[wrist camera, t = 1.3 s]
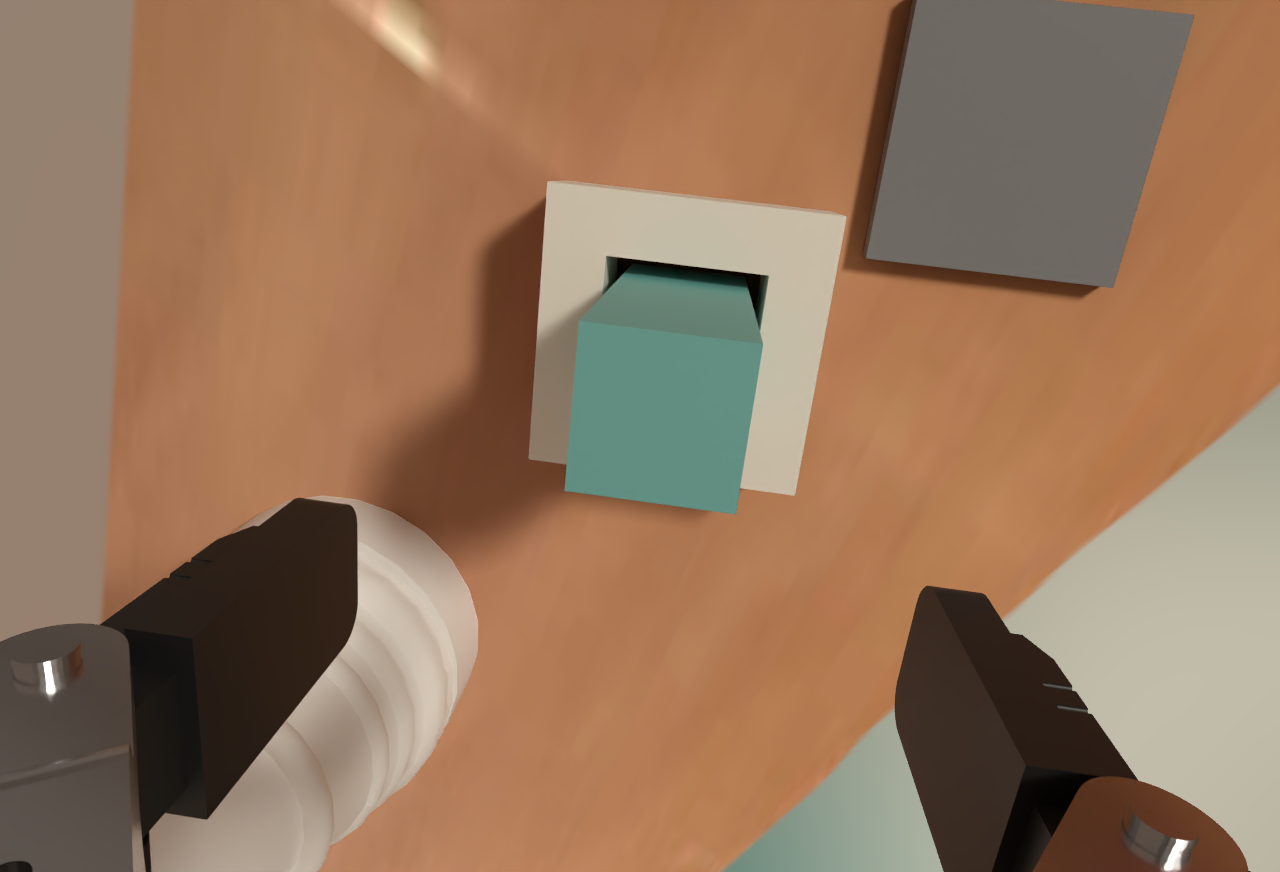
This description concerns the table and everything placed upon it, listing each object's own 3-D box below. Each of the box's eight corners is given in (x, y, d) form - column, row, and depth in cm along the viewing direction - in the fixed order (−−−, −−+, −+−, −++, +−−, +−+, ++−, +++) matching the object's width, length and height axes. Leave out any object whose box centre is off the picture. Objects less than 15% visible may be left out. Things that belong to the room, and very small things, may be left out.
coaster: (914, -9, 27) (919, -14, 27) (1180, 19, 27) (1194, 15, 26) (862, 256, 30) (866, 258, 30) (1103, 285, 30) (1113, 287, 29)
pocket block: (568, 180, 30) (547, 181, 27) (830, 211, 30) (846, 216, 26) (549, 427, 34) (528, 459, 30) (785, 458, 33) (794, 495, 29)
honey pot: (161, 577, 38) (-291, 906, 21) (364, 444, 35) (25, 703, 18) (331, 772, 41) (53, 1202, 24) (532, 665, 38) (379, 1072, 21)
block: (633, 263, 31) (578, 320, 19) (744, 276, 31) (763, 344, 19) (621, 371, 33) (564, 490, 20) (728, 385, 32) (735, 514, 20)
